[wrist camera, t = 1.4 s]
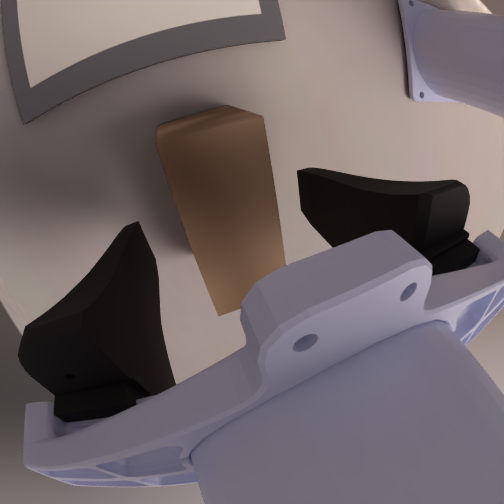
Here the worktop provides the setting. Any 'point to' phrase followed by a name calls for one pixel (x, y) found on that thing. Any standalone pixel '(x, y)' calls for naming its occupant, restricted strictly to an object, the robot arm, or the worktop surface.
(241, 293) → the block
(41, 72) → the mat
